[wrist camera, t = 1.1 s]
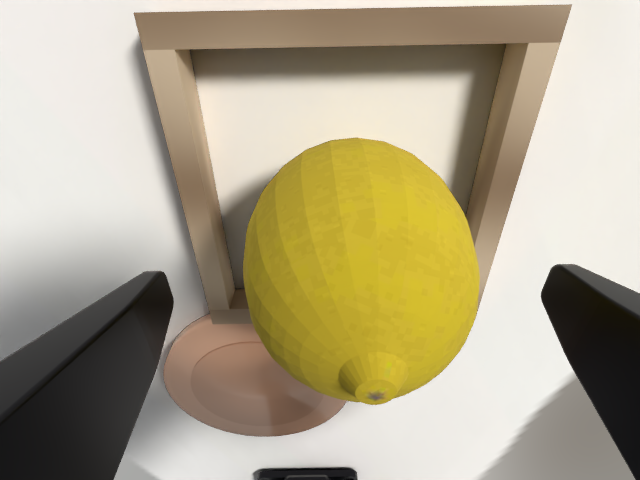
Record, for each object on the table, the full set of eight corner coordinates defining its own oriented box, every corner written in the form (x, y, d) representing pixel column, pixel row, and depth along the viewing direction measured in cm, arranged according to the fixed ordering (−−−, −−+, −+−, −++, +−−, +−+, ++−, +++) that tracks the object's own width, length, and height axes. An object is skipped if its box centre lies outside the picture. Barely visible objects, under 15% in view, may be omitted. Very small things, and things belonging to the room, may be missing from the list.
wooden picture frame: (464, 299, 15) (474, 319, 14) (219, 303, 15) (212, 324, 14) (545, 5, 10) (572, 4, 9) (152, 12, 10) (133, 12, 9)
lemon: (243, 220, 13) (166, 440, 6) (306, 73, 10) (287, 185, 4) (371, 271, 14) (419, 498, 8) (457, 153, 12) (643, 342, 5)
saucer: (347, 421, 20) (348, 437, 19) (190, 423, 20) (185, 440, 19) (353, 304, 15) (355, 320, 15) (146, 308, 15) (137, 324, 15)
